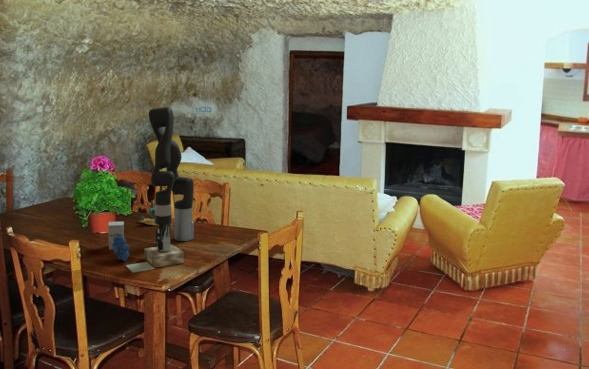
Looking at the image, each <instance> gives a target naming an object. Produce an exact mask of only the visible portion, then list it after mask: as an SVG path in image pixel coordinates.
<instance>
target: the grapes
mask: <svg viewBox="0 0 589 369" xmlns="http://www.w3.org/2000/svg"><path fill="white" fill-rule="evenodd" d="M113 241H114V242H113V244H112V246H113V249H112V251H113V253H114V254H115V256H117V259H118V260H120V261H123V262H127V260H128V257H129V256H130V252H129V249H130V246H129V245H128V244H126V243H127V240H126V238H125V237H124V238H122V236H121V235H117V237H116V236H115V237H114V238H113Z"/></svg>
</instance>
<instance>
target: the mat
mask: <svg viewBox="0 0 589 369" xmlns="http://www.w3.org/2000/svg"><path fill="white" fill-rule="evenodd" d="M125 267H126V268H127V269H128V270H129V271H130V272H131V273H133V274H134V273H140V272H146V271H150V270H152V271H153V270H156V267H154V266H153V265H152V264H150V263H149V262H148V261H144V262H143V261H142V262H138V263H131V264H126V265H125Z"/></svg>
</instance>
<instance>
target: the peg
mask: <svg viewBox="0 0 589 369" xmlns="http://www.w3.org/2000/svg"><path fill="white" fill-rule="evenodd" d="M156 243H157V245H156V247H158V242H156ZM170 245H171V236H168V235H167V234H166V235H165V238H164V239H163V250H158V252H159V253H165V252H170Z"/></svg>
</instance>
